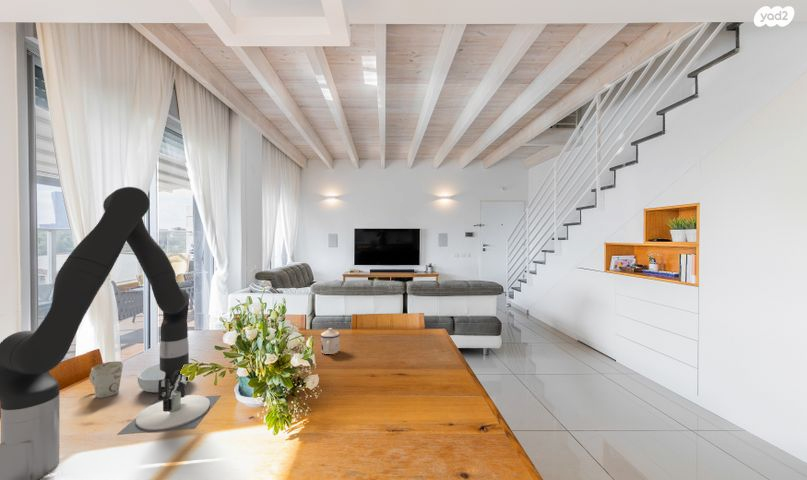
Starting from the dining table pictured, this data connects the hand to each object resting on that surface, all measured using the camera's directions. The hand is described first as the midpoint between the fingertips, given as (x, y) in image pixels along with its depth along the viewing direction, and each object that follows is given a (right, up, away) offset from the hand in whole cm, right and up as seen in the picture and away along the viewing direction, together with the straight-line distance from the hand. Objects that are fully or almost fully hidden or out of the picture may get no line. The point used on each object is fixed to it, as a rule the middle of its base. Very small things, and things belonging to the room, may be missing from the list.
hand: (174, 403), depth 105 cm
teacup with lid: (+37, -3, +55) cm, 66 cm away
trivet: (0, -3, 0) cm, 3 cm away
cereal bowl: (-15, -3, +17) cm, 23 cm away
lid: (0, -3, 0) cm, 3 cm away
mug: (-34, -3, +13) cm, 37 cm away
